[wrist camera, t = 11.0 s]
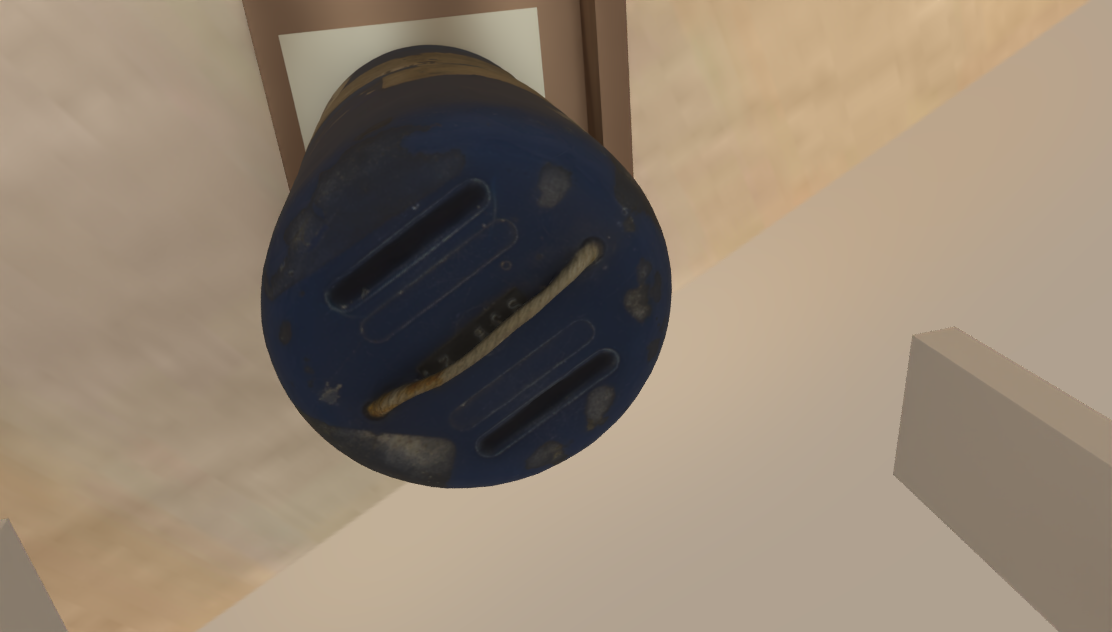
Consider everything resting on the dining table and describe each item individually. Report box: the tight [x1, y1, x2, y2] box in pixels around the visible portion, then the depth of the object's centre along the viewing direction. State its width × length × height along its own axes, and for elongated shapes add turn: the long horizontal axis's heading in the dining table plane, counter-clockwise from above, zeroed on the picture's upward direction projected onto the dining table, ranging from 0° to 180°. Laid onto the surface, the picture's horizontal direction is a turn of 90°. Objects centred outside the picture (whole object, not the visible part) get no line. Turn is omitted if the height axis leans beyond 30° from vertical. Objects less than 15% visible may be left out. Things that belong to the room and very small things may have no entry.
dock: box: [242, 0, 633, 190], centre depth 32 cm, size 14×14×5 cm
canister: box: [261, 45, 672, 488], centre depth 23 cm, size 10×10×18 cm
